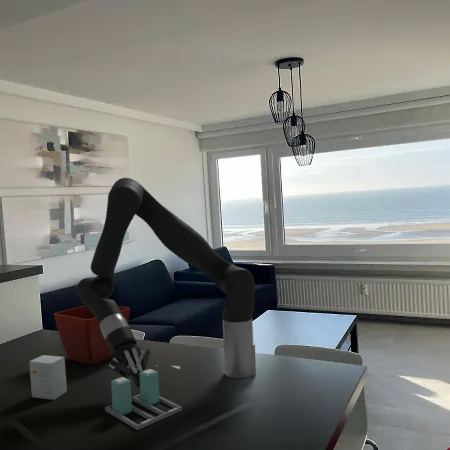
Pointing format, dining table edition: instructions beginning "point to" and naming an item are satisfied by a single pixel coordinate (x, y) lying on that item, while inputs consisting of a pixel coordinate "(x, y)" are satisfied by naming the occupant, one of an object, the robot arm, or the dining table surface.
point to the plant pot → (83, 334)
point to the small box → (48, 377)
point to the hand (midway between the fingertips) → (143, 386)
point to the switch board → (144, 414)
